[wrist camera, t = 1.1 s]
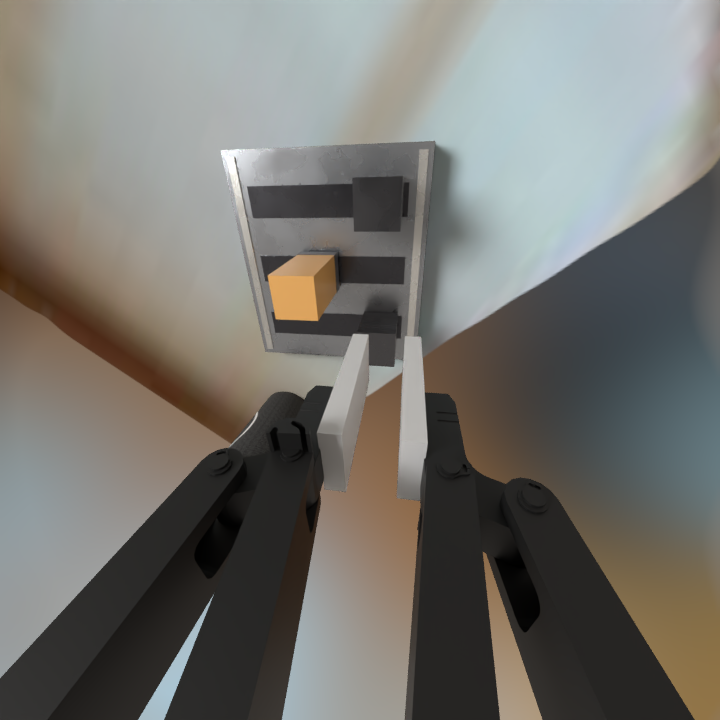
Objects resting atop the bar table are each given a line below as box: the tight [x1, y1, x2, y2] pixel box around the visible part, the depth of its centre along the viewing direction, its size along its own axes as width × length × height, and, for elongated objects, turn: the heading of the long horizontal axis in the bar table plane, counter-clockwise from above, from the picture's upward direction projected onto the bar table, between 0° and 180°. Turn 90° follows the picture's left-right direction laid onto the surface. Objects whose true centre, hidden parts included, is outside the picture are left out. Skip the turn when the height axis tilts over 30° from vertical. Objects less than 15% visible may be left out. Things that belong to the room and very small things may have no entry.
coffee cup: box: [229, 392, 304, 457], centre depth 37 cm, size 10×10×15 cm
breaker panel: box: [221, 141, 435, 367], centre depth 28 cm, size 20×18×7 cm
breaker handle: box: [268, 252, 340, 321], centre depth 26 cm, size 4×4×8 cm
